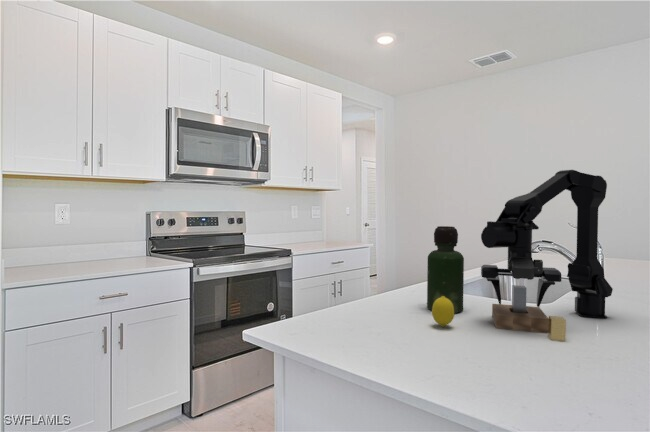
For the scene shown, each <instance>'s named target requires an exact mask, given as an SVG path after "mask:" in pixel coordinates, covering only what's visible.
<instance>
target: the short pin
mask: <svg viewBox="0 0 650 432" xmlns="http://www.w3.org/2000/svg"><path fill="white" fill-rule="evenodd" d="M548 319H549V323H548V333H547V335H548V338H549V340H550V341H555V340H557V342H566V340H567V339H566V336H567V335H566V333H567V330H566V329H567V328H566V327H567V320H566V318H565V317H563V316H560V315H559V316H557V315H548Z"/></svg>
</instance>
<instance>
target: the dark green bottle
mask: <svg viewBox="0 0 650 432" xmlns="http://www.w3.org/2000/svg"><path fill="white" fill-rule="evenodd" d="M458 239H459V233H458V230H457V228H455V226H450V225H449V226H448V225H447V226H443V225H441V226H436V228H435V229H434V232H433V240H434V241H433V243H434V246H436V248H437V249H435V250H432V251H431V252H430V253H428V256H427V271H426V273H427V274H426V275H427V277H426V278H427V280H426V281H427V282H426V283H427V284H426V285H427V286H426V287H427V288H426V290H427V291H426V298H427V299H426V308H428V310H430V311H432V307H433V304H434V302H435V300H437V299H438V298H441V297H442V296H445V298H447V299H449V300H450V301H451V302H452V304H453V307H454V314H457V313H461V312H463V310H464V281H465V279H464V278H465V277H464V273H465V272H464V271H465V268H464V267H465V258H464V255H463V254H462V253H461V252H460V251H458V250H455V247H457V245H458V242H459V240H458Z"/></svg>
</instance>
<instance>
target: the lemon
mask: <svg viewBox="0 0 650 432" xmlns="http://www.w3.org/2000/svg"><path fill="white" fill-rule="evenodd" d="M431 314H432V315H431V316H432V317H433V320H434V321H435V323H436V324H438V325H440V326H441V327H442V328H445V326H447V325H449V324H451V323H452V322H453V320H454V318H455V313H454V307H453V304H452V302H451V301H450V300H449V299H447V298H445V296H442V297H441V298H438V299H437V300H435V302H434V304H433V307H432V310H431Z"/></svg>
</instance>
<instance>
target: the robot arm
mask: <svg viewBox="0 0 650 432" xmlns="http://www.w3.org/2000/svg"><path fill="white" fill-rule="evenodd" d="M607 187H608V184H607V180H606V179H604V177H603V176H602V175H593V174H589V173H584V172H581V171H578V170H575V169H564V170H563V169H562V170H559V171H557V172H556V173H555V174H554V175H553V176H551V177H550V178H549V179H547V180H545V181H544V182H543V183H542V184H540V185H538V186H537V187H536V188H534V189H533V190H532V191H530V192H528V193H526V194H522V195H518V196H515V197H513V198H510V199H508V200H507V201H506V202H505V204H504V208H503V209H502V210H501V212H500V214H499V216H498V218H497V219H496V221H487V222H486V226H485V227H483V230H482V232H481V234H480V238H481V242H482V244H483V246H484V247H486V248H488V249H495V248H507V268H499V267H498V266H497V265H496V264H483V265H482V266H481V267H480V276H481V278H484V279H486V281H487V282H491V283H492V286H493V289H494V290H495V291H494V292H495V295H496V298H497V301H498V304H502V296H501V286H500V279H499V276H505V277H512V278H513V279H515V280H520V279H527V280H530V281H531V280H534V279H535V278H538V283H537V292H536V307H540V306H541V303H542V301H543V299H544V296H545V294H546V293H547V290H548V289H549V288H550V287H551V286H552V285H553V286H554V285H555V286H556V282H557V283H560V282H561V283H562V272H561V271H560V270H559V269H557V268H555V267H545V266H544V262H543V259H533V257H532V256H533V255H532V253H533V230H539V228H540V227H539V226H538V225H537V224H535V222H534V220H535V219H536V218H537V217H538V216H539V215H540V214H541V213H542V211H543V206H545V205H546V204H547V203H548V202H550V201H551V200H553V199H554V198H555V197H557V196H558V195H559V194H562V193H563V192H564V191H565V190H566V191H569V192H570V197H571V200H572V202H573V203H574V204H575V206H576V208H577V213H576V215H577V217H576V255H575V256H576V258H575V259H573V262H571V263H570V262H569V263H568V264H567V275H566V277H567V278H568V282H569V285H570V287H571V292H576V296H575V297H574V312H575V313H577V314H578V315H579V316H580V317H585V318H597V319H608V316H607V315H606V298H609V297H611V296H612V293H613V291H614V290H613V289H614V288H613V287H612V286H611V284H610V283H609V282H608V281H607V279H606V278H605V270H604V267H603V266H602V264H601V263H600V261H599V259H598V241H599V237H598V232H599V231H598V230H599V208H600V206H601V205H602V203H603V202H604V200H605V199H606V196H607V195H606V194H607V189H608V188H607Z"/></svg>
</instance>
